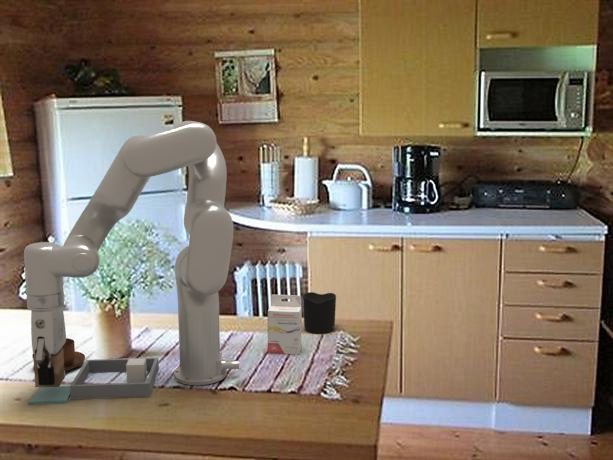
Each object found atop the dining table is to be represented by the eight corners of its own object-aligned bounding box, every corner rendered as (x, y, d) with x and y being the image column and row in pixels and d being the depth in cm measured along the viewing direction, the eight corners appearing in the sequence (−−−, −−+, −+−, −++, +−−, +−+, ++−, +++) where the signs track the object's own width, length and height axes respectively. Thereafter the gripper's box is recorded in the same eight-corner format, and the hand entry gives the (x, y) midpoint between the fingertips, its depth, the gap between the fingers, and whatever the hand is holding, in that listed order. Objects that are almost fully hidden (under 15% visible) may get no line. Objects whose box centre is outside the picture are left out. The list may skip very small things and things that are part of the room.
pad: (75, 388, 158) (75, 385, 158) (66, 403, 150) (66, 400, 150) (39, 389, 157) (39, 386, 157) (28, 404, 149) (28, 401, 149)
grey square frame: (158, 369, 169) (158, 357, 168) (150, 396, 153) (149, 383, 153) (86, 371, 167) (86, 359, 167) (70, 399, 152) (69, 386, 151)
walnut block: (64, 377, 155) (63, 348, 154) (59, 386, 151) (57, 356, 149) (42, 378, 155) (40, 348, 154) (35, 387, 150) (33, 356, 149)
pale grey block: (147, 378, 163) (146, 358, 163) (144, 385, 160) (143, 364, 159) (129, 379, 163) (128, 359, 162) (127, 385, 159) (126, 365, 158)
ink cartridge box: (267, 353, 180) (266, 299, 177) (269, 347, 184) (269, 293, 182) (299, 355, 179) (299, 300, 176) (301, 348, 184) (301, 294, 181)
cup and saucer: (50, 380, 163) (48, 355, 162) (24, 367, 170) (23, 343, 169) (95, 365, 172) (93, 342, 171) (69, 354, 179) (67, 331, 178)
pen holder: (318, 336, 193) (318, 302, 191) (296, 328, 200) (296, 295, 198) (342, 329, 199) (342, 296, 197) (320, 322, 206) (320, 289, 204)
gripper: (52, 310, 141) (57, 394, 145) (72, 289, 158) (76, 364, 161) (14, 311, 141) (20, 395, 144) (39, 289, 157) (43, 365, 161)
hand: (50, 378), depth 153 cm, fingers closed on walnut block, 5 cm apart
